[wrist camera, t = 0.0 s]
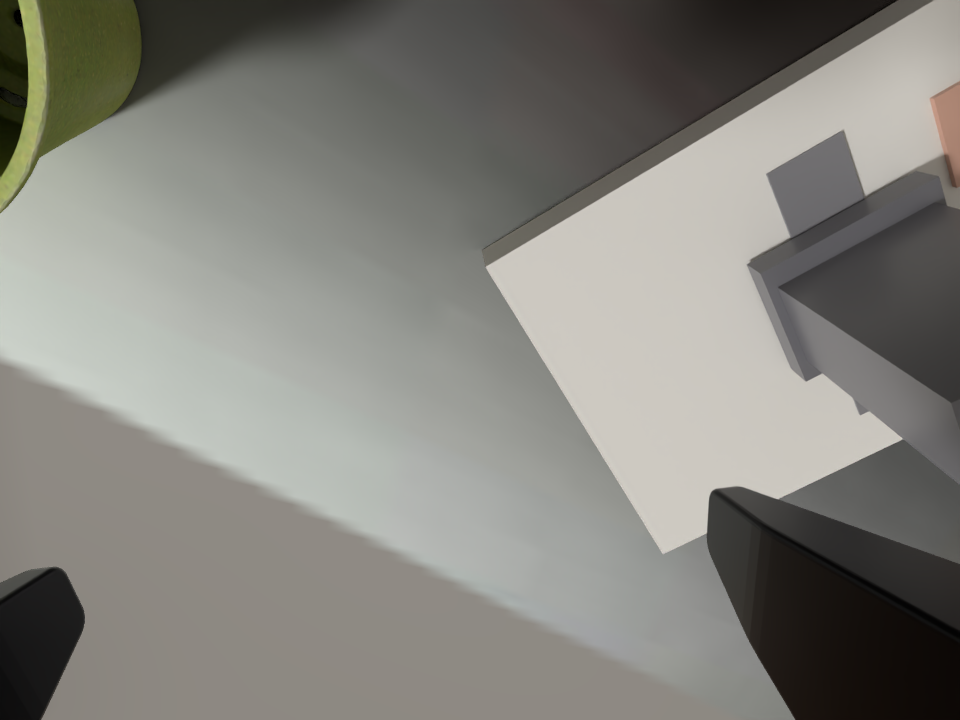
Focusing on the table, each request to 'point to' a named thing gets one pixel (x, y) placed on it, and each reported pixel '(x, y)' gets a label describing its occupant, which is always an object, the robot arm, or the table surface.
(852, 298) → the handle
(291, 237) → the table surface
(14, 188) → the plant pot
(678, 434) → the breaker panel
